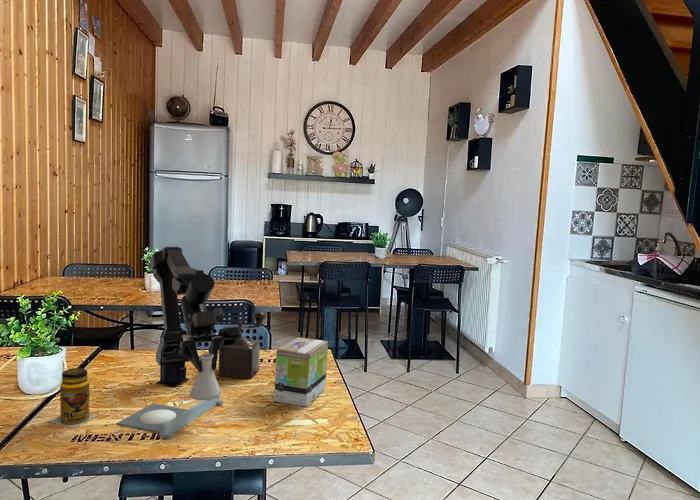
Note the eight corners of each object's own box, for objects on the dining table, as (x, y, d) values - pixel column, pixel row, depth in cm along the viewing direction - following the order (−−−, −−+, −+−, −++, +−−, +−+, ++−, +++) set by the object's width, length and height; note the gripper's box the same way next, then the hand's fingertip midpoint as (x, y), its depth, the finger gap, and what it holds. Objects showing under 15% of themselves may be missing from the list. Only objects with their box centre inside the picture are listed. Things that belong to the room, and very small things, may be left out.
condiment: (74, 428, 117) (74, 377, 116) (45, 421, 120) (45, 372, 119) (98, 416, 124) (98, 368, 123) (71, 410, 127) (71, 363, 125)
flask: (209, 403, 118) (210, 362, 117) (183, 398, 120) (184, 357, 119) (226, 393, 125) (227, 353, 124) (201, 388, 127) (202, 349, 126)
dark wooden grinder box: (252, 379, 154) (254, 321, 152) (217, 377, 155) (218, 319, 153) (265, 364, 169) (267, 311, 168) (233, 361, 170) (234, 308, 169)
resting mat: (116, 424, 120) (116, 422, 120) (153, 404, 132) (153, 402, 132) (163, 433, 116) (163, 432, 116) (196, 412, 129) (196, 410, 129)
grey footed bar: (159, 436, 115) (159, 423, 114) (212, 401, 136) (213, 391, 135) (170, 438, 114) (170, 425, 114) (222, 403, 135) (223, 392, 135)
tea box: (307, 408, 135) (309, 353, 134) (272, 402, 138) (274, 348, 136) (326, 389, 149) (328, 339, 148) (294, 384, 152) (296, 335, 151)
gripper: (162, 299, 118) (173, 359, 110) (239, 294, 128) (254, 349, 120) (154, 324, 126) (164, 382, 118) (228, 318, 136) (241, 371, 128)
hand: (207, 370), depth 121 cm, fingers closed on flask, 3 cm apart
